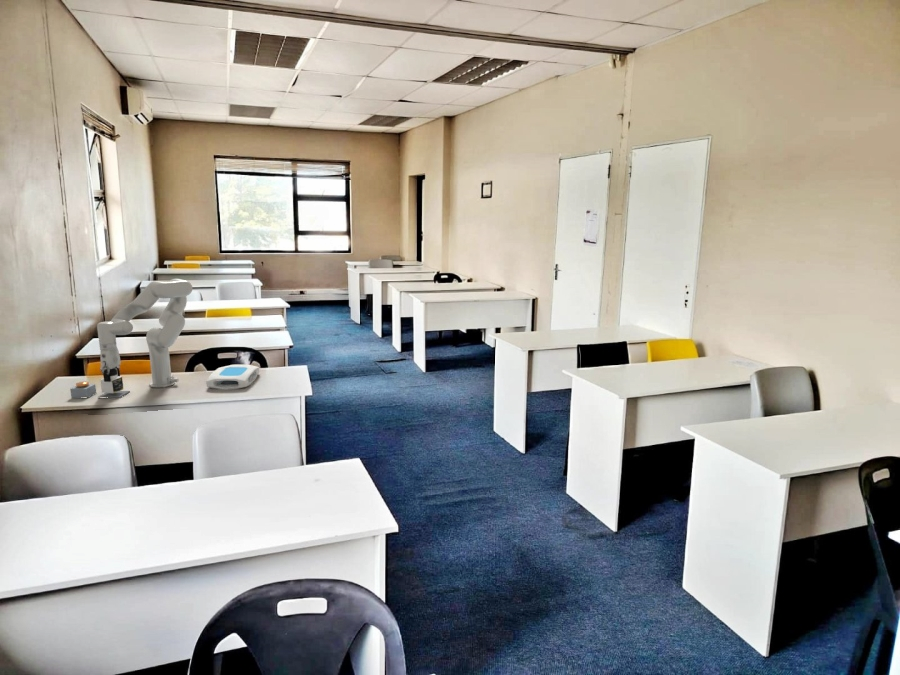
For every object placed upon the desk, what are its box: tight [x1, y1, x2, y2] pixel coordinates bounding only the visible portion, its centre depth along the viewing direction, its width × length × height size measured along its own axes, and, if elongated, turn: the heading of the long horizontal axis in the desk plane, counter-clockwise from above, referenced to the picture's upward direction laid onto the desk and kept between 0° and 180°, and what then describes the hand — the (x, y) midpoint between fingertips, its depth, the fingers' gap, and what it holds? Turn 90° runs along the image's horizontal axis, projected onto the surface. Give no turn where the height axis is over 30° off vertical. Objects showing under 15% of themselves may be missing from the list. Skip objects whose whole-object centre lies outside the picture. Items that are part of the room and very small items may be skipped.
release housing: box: [69, 383, 97, 399], centre depth 304 cm, size 8×8×5 cm
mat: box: [98, 390, 131, 399], centre depth 306 cm, size 11×10×1 cm
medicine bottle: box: [99, 368, 124, 394], centre depth 304 cm, size 7×7×12 cm
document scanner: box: [205, 364, 260, 390], centre depth 331 cm, size 21×28×6 cm
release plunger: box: [75, 381, 90, 388], centre depth 304 cm, size 6×6×7 cm
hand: (112, 378), depth 304 cm, fingers closed on medicine bottle, 8 cm apart
